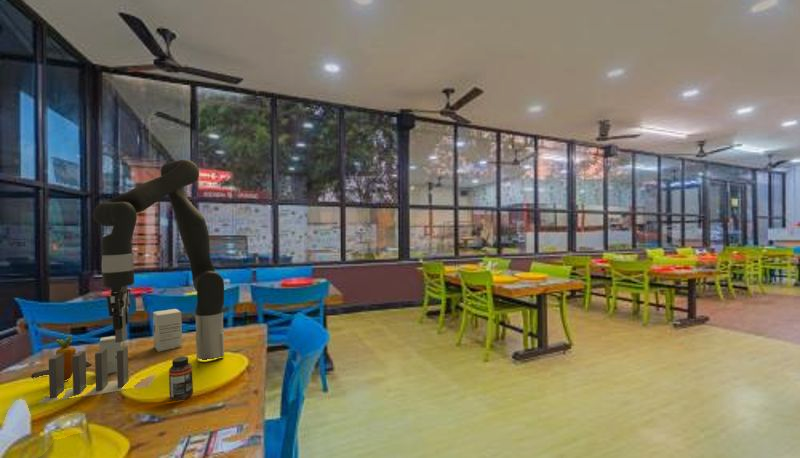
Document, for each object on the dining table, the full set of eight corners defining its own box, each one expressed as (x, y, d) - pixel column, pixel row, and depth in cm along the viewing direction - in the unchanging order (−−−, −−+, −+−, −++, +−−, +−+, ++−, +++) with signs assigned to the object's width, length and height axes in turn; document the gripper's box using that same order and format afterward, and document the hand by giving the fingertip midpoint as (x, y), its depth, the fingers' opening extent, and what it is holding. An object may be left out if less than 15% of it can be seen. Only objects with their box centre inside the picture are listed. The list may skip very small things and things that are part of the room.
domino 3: (127, 337, 113) (125, 299, 113) (122, 341, 109) (120, 302, 109) (120, 337, 113) (118, 300, 112) (115, 342, 108) (113, 303, 108)
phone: (92, 364, 137) (36, 378, 125) (92, 366, 137) (36, 380, 125) (85, 360, 142) (31, 373, 129) (85, 363, 142) (31, 376, 129)
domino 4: (128, 381, 121) (127, 345, 121) (123, 387, 117) (123, 350, 117) (122, 382, 121) (121, 346, 121) (117, 388, 116) (116, 351, 116)
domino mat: (156, 375, 126) (156, 374, 126) (149, 387, 117) (149, 385, 117) (54, 390, 116) (54, 389, 116) (37, 404, 107) (37, 403, 107)
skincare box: (99, 376, 127) (98, 340, 127) (100, 372, 131) (100, 337, 131) (121, 372, 130) (121, 337, 130) (122, 368, 134) (121, 334, 134)
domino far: (64, 390, 115) (63, 353, 115) (56, 397, 110) (55, 358, 110) (57, 391, 114) (56, 354, 114) (49, 398, 110) (48, 359, 110)
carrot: (53, 386, 119) (52, 339, 119) (59, 380, 124) (58, 335, 124) (73, 383, 122) (72, 337, 122) (78, 377, 126) (77, 333, 126)
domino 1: (86, 387, 117) (85, 350, 117) (79, 393, 112) (78, 355, 112) (80, 388, 116) (79, 351, 116) (73, 394, 112) (72, 356, 112)
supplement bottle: (176, 392, 113) (175, 355, 113) (196, 391, 113) (195, 354, 113) (165, 402, 107) (164, 362, 107) (187, 400, 107) (186, 361, 107)
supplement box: (153, 347, 158) (152, 311, 158) (177, 342, 164) (176, 308, 164) (157, 352, 151) (156, 315, 151) (182, 346, 157) (181, 311, 157)
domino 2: (107, 384, 119) (107, 348, 119) (102, 390, 115) (101, 353, 114) (101, 385, 119) (100, 348, 118) (95, 391, 114) (94, 353, 114)
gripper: (126, 271, 105) (129, 331, 106) (139, 266, 118) (141, 319, 119) (93, 273, 102) (97, 335, 103) (110, 268, 115) (113, 323, 116)
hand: (121, 326), depth 111 cm, fingers closed on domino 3, 5 cm apart
